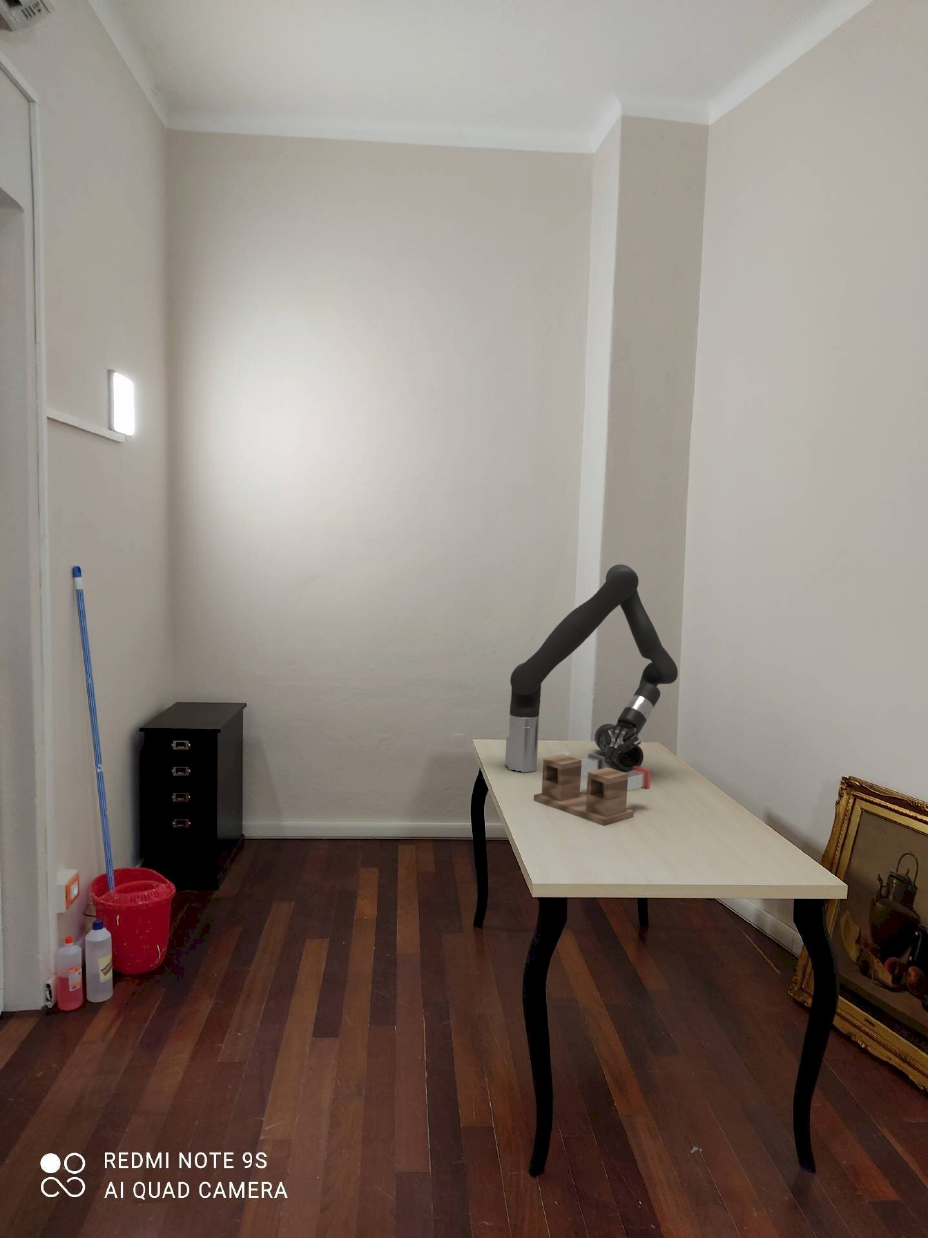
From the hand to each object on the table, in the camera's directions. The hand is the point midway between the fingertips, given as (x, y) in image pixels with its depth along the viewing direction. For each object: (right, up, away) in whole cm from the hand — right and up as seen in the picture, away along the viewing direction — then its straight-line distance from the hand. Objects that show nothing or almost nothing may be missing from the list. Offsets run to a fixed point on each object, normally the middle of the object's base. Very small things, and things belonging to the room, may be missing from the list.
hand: (607, 760), depth 247 cm
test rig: (-10, -10, -18) cm, 23 cm away
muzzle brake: (+8, -6, +31) cm, 32 cm away
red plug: (+1, -5, -20) cm, 20 cm away
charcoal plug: (-9, -4, -8) cm, 13 cm away
